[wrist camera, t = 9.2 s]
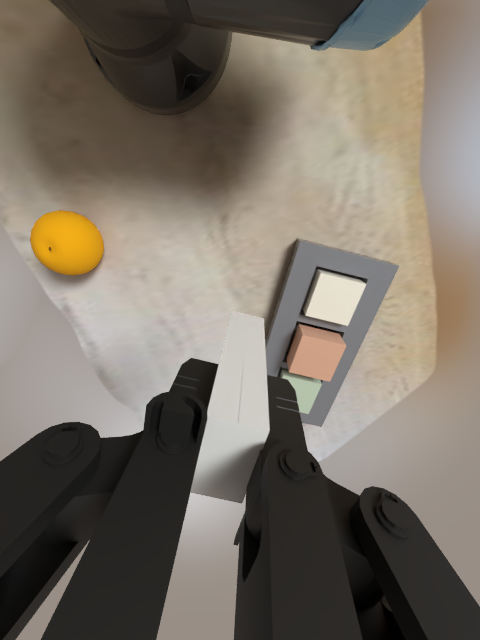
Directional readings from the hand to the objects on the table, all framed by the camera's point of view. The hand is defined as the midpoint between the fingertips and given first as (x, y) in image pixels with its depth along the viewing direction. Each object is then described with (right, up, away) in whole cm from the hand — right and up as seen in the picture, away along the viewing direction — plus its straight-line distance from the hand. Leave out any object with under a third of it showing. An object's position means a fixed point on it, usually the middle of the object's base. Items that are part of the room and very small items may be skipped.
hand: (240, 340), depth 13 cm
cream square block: (+13, +5, +26) cm, 29 cm away
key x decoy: (+11, -3, +27) cm, 29 cm away
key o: (+9, -9, +32) cm, 35 cm away
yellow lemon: (-22, +12, +25) cm, 36 cm away
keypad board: (+11, -2, +29) cm, 31 cm away
